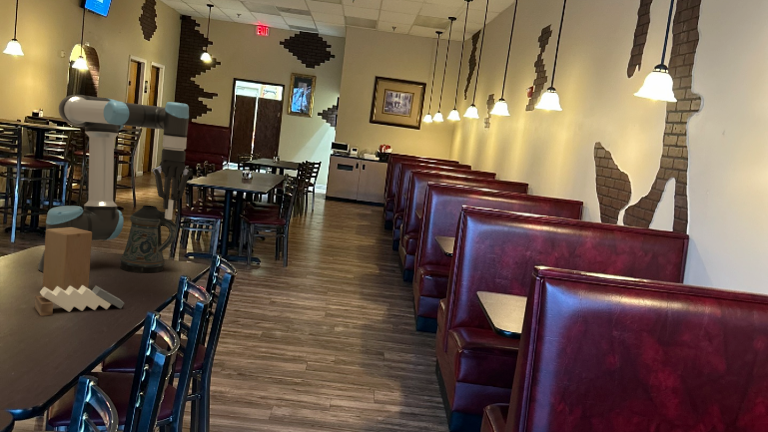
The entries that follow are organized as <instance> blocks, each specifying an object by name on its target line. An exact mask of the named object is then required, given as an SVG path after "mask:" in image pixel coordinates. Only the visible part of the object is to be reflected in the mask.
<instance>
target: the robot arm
mask: <svg viewBox="0 0 768 432" xmlns="http://www.w3.org/2000/svg"><path fill="white" fill-rule="evenodd" d="M189 110H190V107H189V105H188V104H186V103H182V102H181V103H180V102H176V101H175V102H174V101H167V102H166V104H165V107H164V106H163V107H162V106H158V105H157V106H155V105H148V104H140V103H139V104H137V103H132V102H125V101H120V100H116V99H111V98H109V97H108V98H107V97H100V96H99V97H98V96H90V95H83V94H72V95H68V96H66V97H64V98H63V99H62V100H61V101H60V103H59V105H58V114H59V116H60V117H61V119H62V120H63V121H64V122H66V123H67V124H69V125H71V126H75V127H80V128H84V130H85V131H84V133H85V134H86V135H87V136H88V139H89V143H88V144H89V145H88V146H89V148H88V149H89V150H88V152H89V153H88V154H89V155H88V200H87V202H86V203H84V204H83V207H82V206H78V205H60V206H54V207H52V208H50V209H49V210H48V212H47V216H46V220H45V224H46V225H45V230H46V229H54V228H66V227H73V228H78V229H82V230H86V231H91V232H92V241H109V240H115V239H116V238H118V237H119V235H120V234H121V232H122V230H123V229H124V222H125V220H124V216H123V213H122V211H121V210H119V209H118V205H117V204H116V202H115V201H114V167H115V165H114V164H115V163H114V160H115V159H114V157H115V155H114V154H115V153H114V152H115V138H117V136H119V131H121V130H123V128H124V127H137V128H146V129H155V130H163V135H162V137H163V138H162V150H161V159H160V160H161V161H160V163H159V166H158V167H155V168H154V167H153V168H152V169H151V171H152V173H153V174H154V180H155V184H156V190H157V196H158V197H159V198H161V199H163V202H162V203H163V204H162V205H163V206H162V208H163V209H164V210H165V211H164V212H165V218H166V219H168V220H173V212H174V210H175V209H176V208H177V207H176V206H177V201H178V200H180V199H182V198H183V196H184V192H185V189H186V187H187V184H188V181H189V177H191V175H192V174H193V173H192V171H191V170H189V169H187V168H186V165H185V163H186V153H187V152H186V151H185V150H186V149H187V141H188V140H187V139H188V138H187V137H188V130H189V128H188V127H189V119H190V111H189ZM162 173H163V175H164V177H163V178H164V185H163V181H162V175H161V174H162ZM181 174H182V176H181ZM180 176H181V179H180ZM179 180H180V183H179ZM43 250H44V251H43V252H42V255H41V258H40V260H39V262H38V271H39V270H40V271H39V272H42V273H43V270H44V254H45V249H43Z"/></svg>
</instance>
